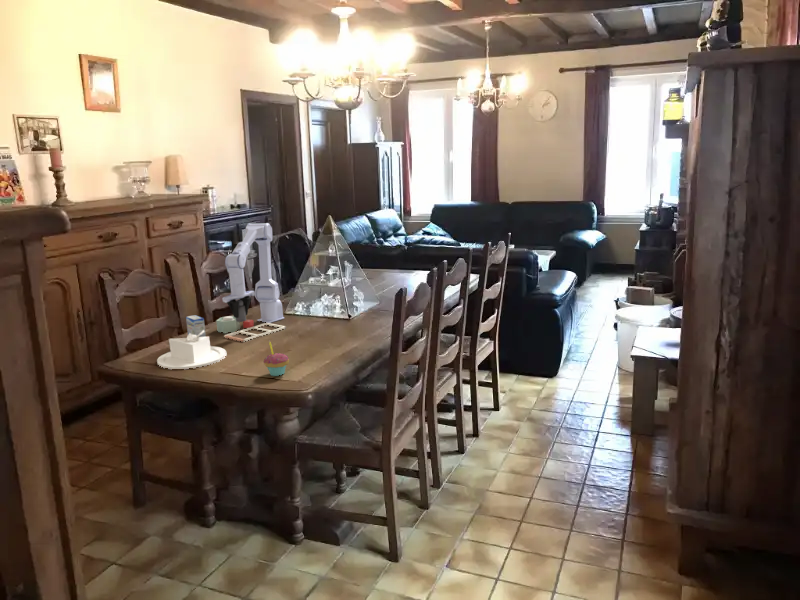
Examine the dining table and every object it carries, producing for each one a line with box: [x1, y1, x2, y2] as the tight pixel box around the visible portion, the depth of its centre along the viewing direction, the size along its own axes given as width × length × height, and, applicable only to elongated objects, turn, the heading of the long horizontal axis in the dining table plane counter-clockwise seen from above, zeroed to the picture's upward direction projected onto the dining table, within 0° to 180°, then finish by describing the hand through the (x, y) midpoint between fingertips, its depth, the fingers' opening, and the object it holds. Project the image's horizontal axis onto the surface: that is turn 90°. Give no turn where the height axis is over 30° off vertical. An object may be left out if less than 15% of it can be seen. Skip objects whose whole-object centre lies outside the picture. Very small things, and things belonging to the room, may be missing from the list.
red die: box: [242, 319, 255, 329], centre depth 286 cm, size 3×3×3 cm
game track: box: [223, 322, 287, 343], centre depth 277 cm, size 23×13×1 cm, turn 141°
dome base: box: [215, 315, 241, 334], centre depth 283 cm, size 8×10×5 cm
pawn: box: [236, 299, 247, 323], centre depth 270 cm, size 4×4×9 cm
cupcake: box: [263, 340, 290, 377], centre depth 225 cm, size 9×8×12 cm
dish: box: [156, 330, 228, 370], centre depth 246 cm, size 25×25×11 cm
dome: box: [221, 315, 235, 321], centre depth 283 cm, size 6×6×4 cm
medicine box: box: [185, 314, 207, 337], centre depth 274 cm, size 8×4×9 cm, turn 42°
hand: (240, 316), depth 270 cm, fingers closed on pawn, 4 cm apart
